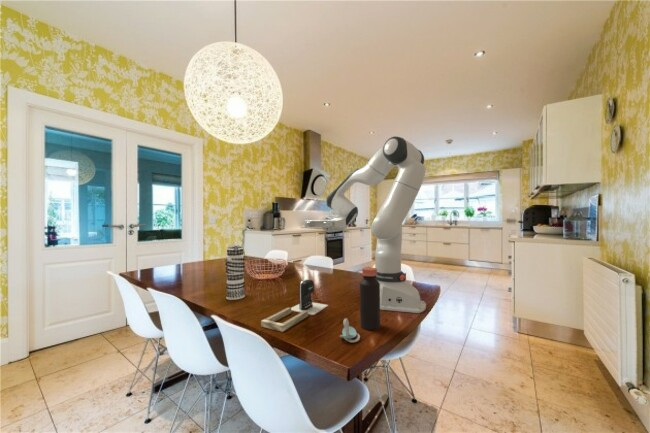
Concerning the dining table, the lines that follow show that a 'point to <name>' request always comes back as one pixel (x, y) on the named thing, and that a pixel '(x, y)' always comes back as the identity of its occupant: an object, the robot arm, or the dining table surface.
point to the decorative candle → (235, 272)
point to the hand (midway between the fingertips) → (316, 224)
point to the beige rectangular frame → (287, 324)
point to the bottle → (369, 300)
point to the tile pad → (312, 310)
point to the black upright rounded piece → (305, 294)
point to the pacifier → (349, 332)
